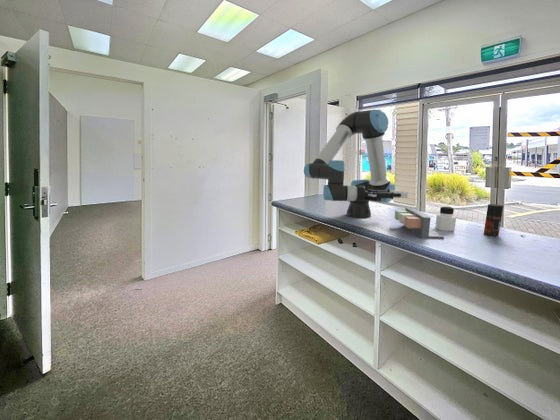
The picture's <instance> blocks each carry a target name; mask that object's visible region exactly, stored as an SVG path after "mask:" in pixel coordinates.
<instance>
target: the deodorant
mask: <svg viewBox="0 0 560 420" xmlns="http://www.w3.org/2000/svg"><path fill="white" fill-rule="evenodd" d="M503 209H504V205H502V204H498V203H497V204H496V203H495V204H494V203H488V204H487V209H486V215H485V216H486V217H485V222H484V228H483V229H484V230H483V235H484V236H486V235H487V237H491V236H498V237H499V235H500V229H501V223H502V216H503V212H504V211H503Z"/></svg>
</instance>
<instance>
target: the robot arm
mask: <svg viewBox="0 0 560 420" xmlns="http://www.w3.org/2000/svg"><path fill="white" fill-rule="evenodd" d="M388 129H389V118H388V115H387V113H386V112H385V111H384V110H383V109H376V108H375V109H368V110H367V109H366V110H361V111H354V112H352V113H350V114H349V115H347V116H345V118H344V119H342V120H341V121H340V122H339V124H338V125H337V126H336V128H335V132H334V133H333V135H332V136H331V137H330V139H329V140H328V141H327V143H326V144H325V145H324V147H323V148H322V150H321V151H320V152H319V153H318V154H317V156H316V157H315V159H314V160H313V162H309V163H306V164H305V165H304V167H303V175H304V176H305V177H306V178H308V179H312V180H313V179H319V180H327V184H325V185H324V186H323V191H322V192H323V193H322V198H323V200H324V201H329V202H330V201H332V202H348V203H349V205H348V207H347V210H346V216H348V217H351V218H357V219H365V218H370V217H372V212H371V208H370V202H377V203H385V204H386V203H387V204H388V203H389V202H390V201H392V200H394V199H408V198H409V197H408V196H409V195H408V194H409V192H408V191H404V190H396V185H395V184H394V183H392V182H391V179H390V178H389V177H388V176H387V168H386V166H387V165H386V159H385V150H384V141H383V140H384V139H383V137H384V136H385V134H386V131H388ZM356 134H361V136H362V139H363V140H365V143H366V150H367V151H366V152H367V158H368V159H367V160H368V166H369V174H370V179H369V178H368V179H367V178H364V179H354V180H352V181H351V182H350V184H348V185H344V182H345V181H344V180H345V162H344V160H339V159H337V160H335V157H336V156H337V155H338V153H339V151H340V150H341V148H342V147H343V146H344V145H345V143H346V141H347V140H349V139H350V138H351V137H353V136H354V135H356Z"/></svg>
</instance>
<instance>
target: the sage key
mask: <svg viewBox="0 0 560 420" xmlns="http://www.w3.org/2000/svg"><path fill="white" fill-rule="evenodd" d="M400 213H409V214H410V211H405V210H402V209H401V210H399V209H398V210H396V209H395V210H394V219H395V220H396V221H399V219H400Z"/></svg>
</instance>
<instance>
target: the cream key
mask: <svg viewBox="0 0 560 420" xmlns="http://www.w3.org/2000/svg"><path fill="white" fill-rule="evenodd" d="M405 217H416V215H415V214H409V213H400V219H399V220H398V221H399V223H400V224H402V225H404V224H405Z"/></svg>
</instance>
